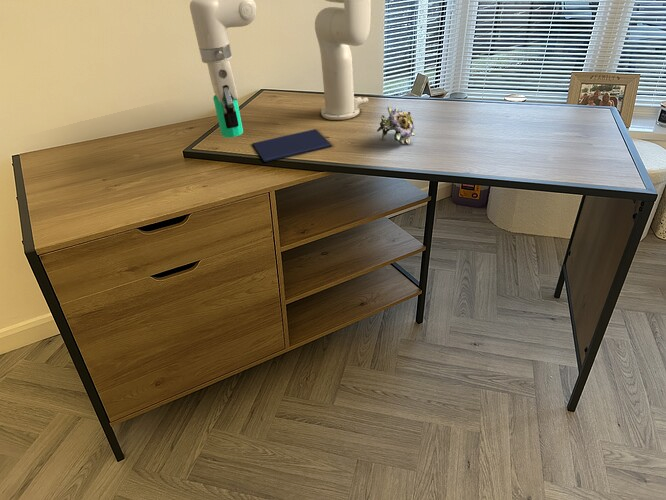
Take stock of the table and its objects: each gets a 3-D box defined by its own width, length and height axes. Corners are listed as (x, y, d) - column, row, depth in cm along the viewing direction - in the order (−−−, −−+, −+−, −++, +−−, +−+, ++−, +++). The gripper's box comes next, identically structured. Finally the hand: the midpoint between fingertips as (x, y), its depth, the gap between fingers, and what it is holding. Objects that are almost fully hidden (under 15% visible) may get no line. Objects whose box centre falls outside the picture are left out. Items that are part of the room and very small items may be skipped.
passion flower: (406, 161, 138) (406, 139, 127) (371, 150, 141) (367, 128, 129) (419, 128, 140) (420, 104, 129) (384, 118, 143) (382, 94, 132)
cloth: (315, 130, 148) (315, 128, 148) (331, 146, 137) (331, 144, 137) (252, 144, 143) (252, 142, 143) (264, 162, 132) (264, 160, 132)
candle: (238, 137, 129) (229, 92, 122) (218, 137, 130) (207, 93, 123) (246, 128, 133) (238, 85, 126) (226, 128, 135) (217, 85, 128)
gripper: (237, 58, 114) (251, 131, 125) (224, 44, 127) (237, 111, 138) (206, 63, 112) (222, 137, 123) (195, 49, 125) (211, 116, 136)
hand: (230, 123), depth 130 cm, fingers closed on candle, 4 cm apart
